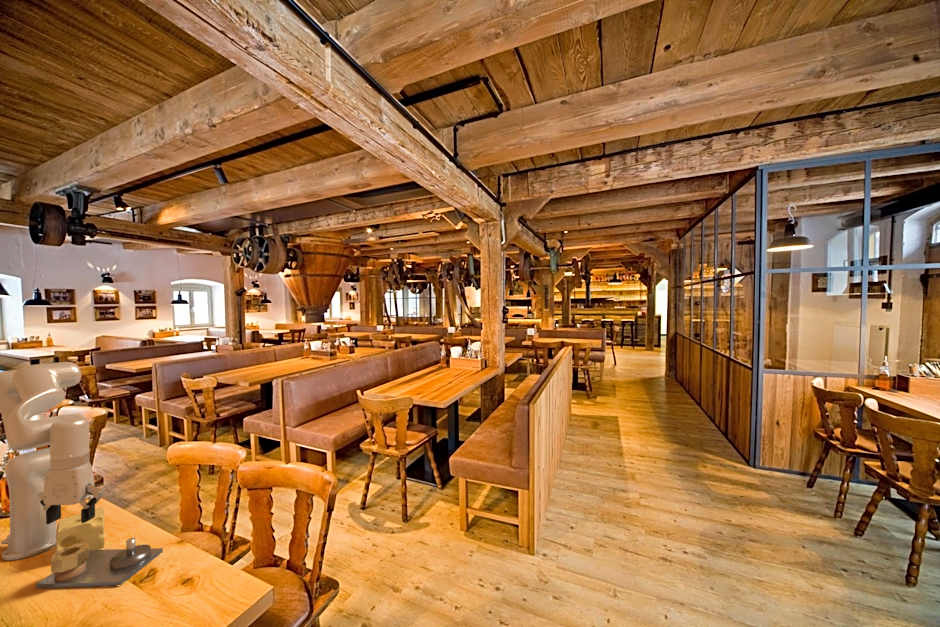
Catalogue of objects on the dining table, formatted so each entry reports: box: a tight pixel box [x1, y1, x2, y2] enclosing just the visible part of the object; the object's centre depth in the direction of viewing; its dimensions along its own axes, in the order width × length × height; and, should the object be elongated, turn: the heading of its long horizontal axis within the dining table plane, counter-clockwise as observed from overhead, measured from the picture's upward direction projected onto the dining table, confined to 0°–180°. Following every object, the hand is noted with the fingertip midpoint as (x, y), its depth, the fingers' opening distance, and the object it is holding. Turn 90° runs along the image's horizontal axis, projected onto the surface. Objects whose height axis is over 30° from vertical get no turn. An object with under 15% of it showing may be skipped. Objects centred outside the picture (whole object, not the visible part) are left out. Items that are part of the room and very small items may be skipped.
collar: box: [50, 543, 89, 574], centre depth 100 cm, size 7×7×4 cm
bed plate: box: [34, 547, 163, 590], centre depth 104 cm, size 23×14×1 cm, turn 92°
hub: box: [110, 537, 152, 570], centre depth 106 cm, size 9×9×7 cm
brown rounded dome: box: [55, 561, 86, 582], centre depth 100 cm, size 6×6×4 cm
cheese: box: [55, 506, 106, 553], centre depth 113 cm, size 10×11×10 cm
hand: (71, 520), depth 100 cm, fingers open, 9 cm apart
